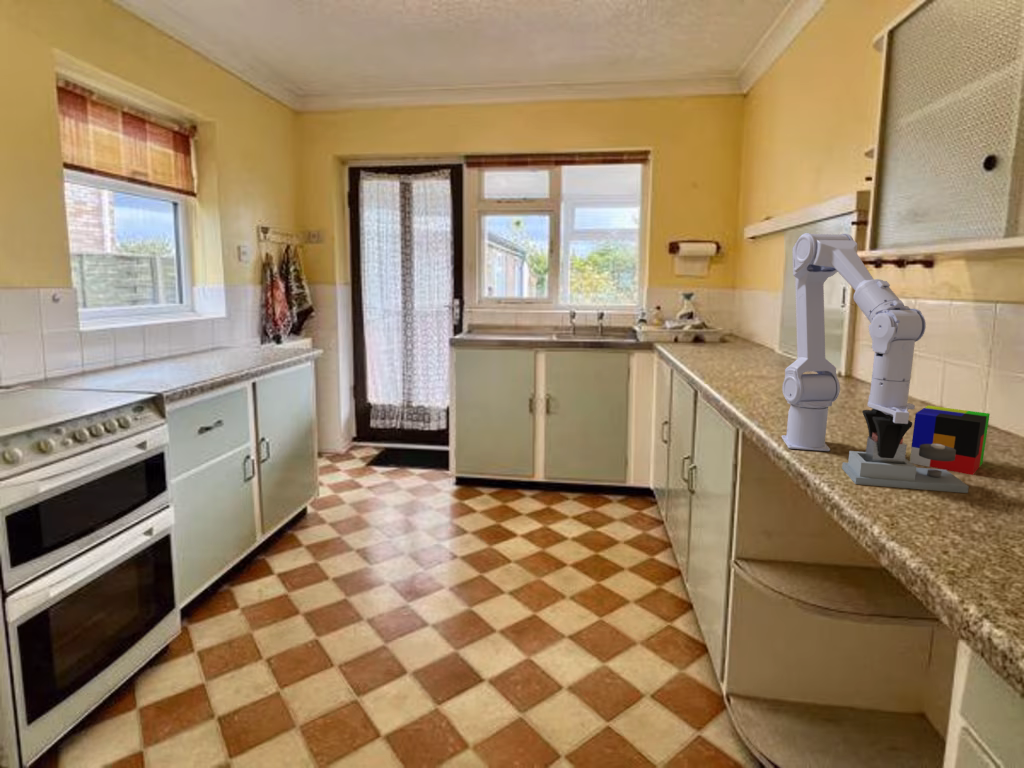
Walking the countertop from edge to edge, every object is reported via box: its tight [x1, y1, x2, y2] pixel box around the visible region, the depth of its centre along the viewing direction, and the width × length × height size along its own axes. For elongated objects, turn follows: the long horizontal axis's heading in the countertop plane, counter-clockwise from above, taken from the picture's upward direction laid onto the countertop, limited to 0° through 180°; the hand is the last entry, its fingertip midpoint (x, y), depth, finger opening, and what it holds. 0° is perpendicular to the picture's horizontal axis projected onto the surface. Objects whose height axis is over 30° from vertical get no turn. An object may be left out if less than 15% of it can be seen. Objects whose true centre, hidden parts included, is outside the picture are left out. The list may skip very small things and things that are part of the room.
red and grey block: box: [865, 432, 908, 464], centre depth 108 cm, size 4×5×6 cm
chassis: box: [841, 450, 970, 494], centre depth 108 cm, size 9×17×4 cm, turn 75°
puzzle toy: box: [909, 405, 990, 476], centre depth 117 cm, size 10×10×10 cm
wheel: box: [919, 444, 956, 461], centre depth 106 cm, size 5×5×2 cm
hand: (882, 453), depth 108 cm, fingers closed on red and grey block, 4 cm apart
